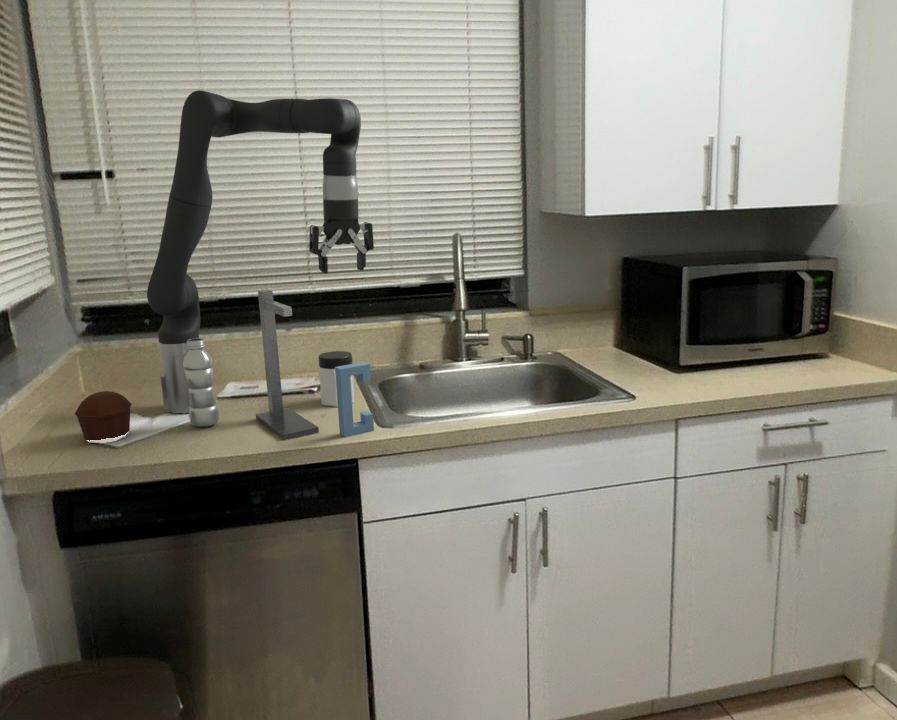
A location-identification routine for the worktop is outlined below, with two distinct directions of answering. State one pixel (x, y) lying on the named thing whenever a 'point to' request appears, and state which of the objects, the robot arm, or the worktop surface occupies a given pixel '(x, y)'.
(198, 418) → the plastic bottle
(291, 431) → the stand
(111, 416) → the muffin
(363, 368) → the c link
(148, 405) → the worktop surface
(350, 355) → the jar
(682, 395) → the worktop surface
